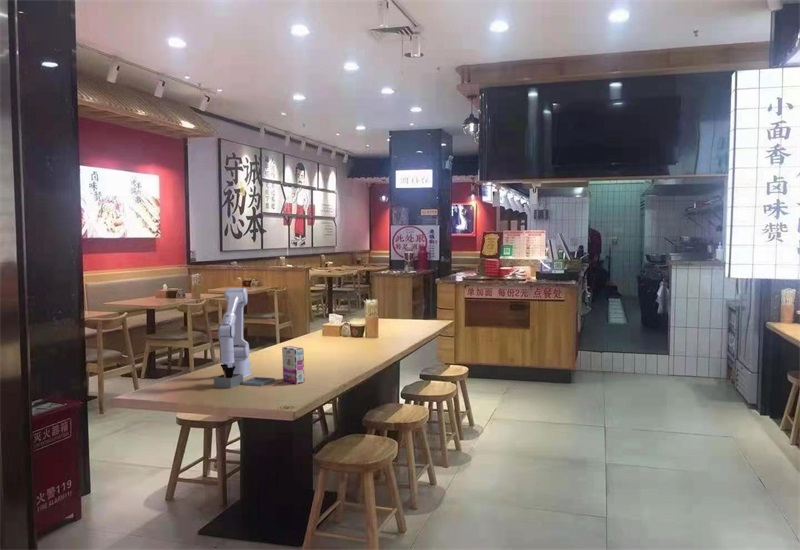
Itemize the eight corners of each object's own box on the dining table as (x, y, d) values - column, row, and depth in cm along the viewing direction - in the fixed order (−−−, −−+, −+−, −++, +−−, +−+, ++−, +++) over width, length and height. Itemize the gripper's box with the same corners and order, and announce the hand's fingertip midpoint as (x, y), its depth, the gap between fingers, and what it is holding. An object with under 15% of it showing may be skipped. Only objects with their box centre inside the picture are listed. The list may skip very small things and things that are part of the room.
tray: (254, 380, 294) (254, 376, 293) (274, 381, 290) (274, 378, 290) (241, 385, 283) (241, 382, 283) (261, 387, 279) (261, 383, 279)
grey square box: (226, 383, 289) (226, 373, 288) (243, 384, 285) (242, 374, 285) (214, 388, 280) (213, 377, 280) (231, 389, 277) (230, 378, 277)
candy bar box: (305, 382, 287) (304, 347, 286) (296, 384, 283) (295, 349, 282) (291, 379, 294) (290, 345, 294) (282, 381, 291) (281, 346, 290)
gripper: (216, 349, 287) (217, 378, 288) (220, 354, 274) (221, 384, 274) (231, 348, 290) (232, 376, 290) (236, 352, 276) (237, 382, 277)
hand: (228, 380), depth 283 cm, fingers closed on dowel, 4 cm apart
